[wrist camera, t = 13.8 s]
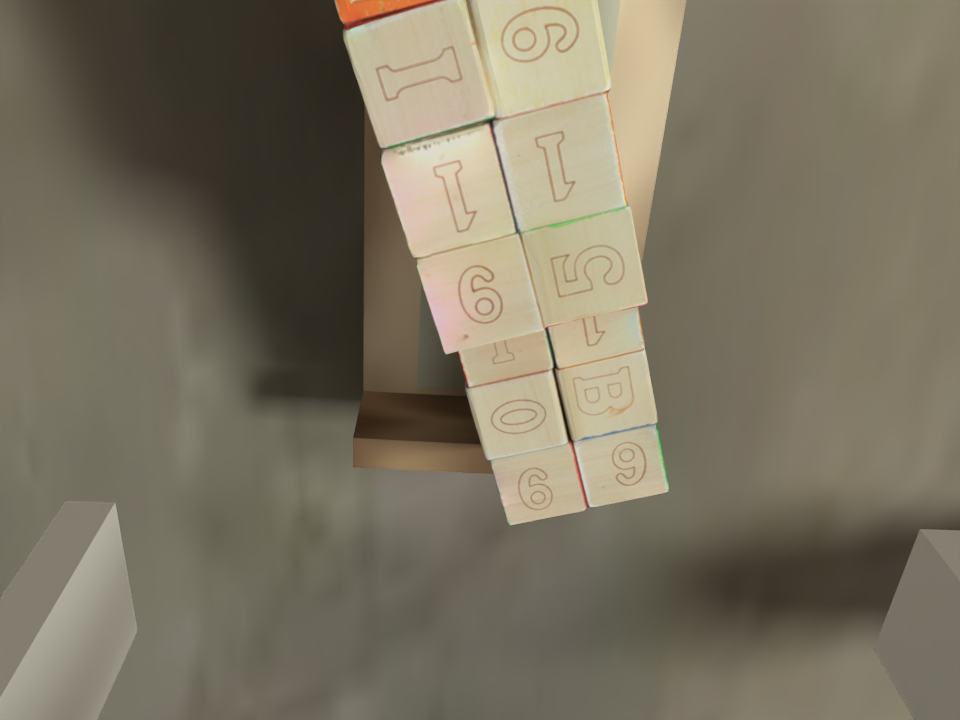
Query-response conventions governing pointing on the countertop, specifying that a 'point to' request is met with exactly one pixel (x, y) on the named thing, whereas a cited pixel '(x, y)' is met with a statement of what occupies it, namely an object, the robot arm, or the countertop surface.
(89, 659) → the robot arm
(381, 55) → the stack of blocks
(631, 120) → the cradle
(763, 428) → the countertop surface
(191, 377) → the countertop surface
